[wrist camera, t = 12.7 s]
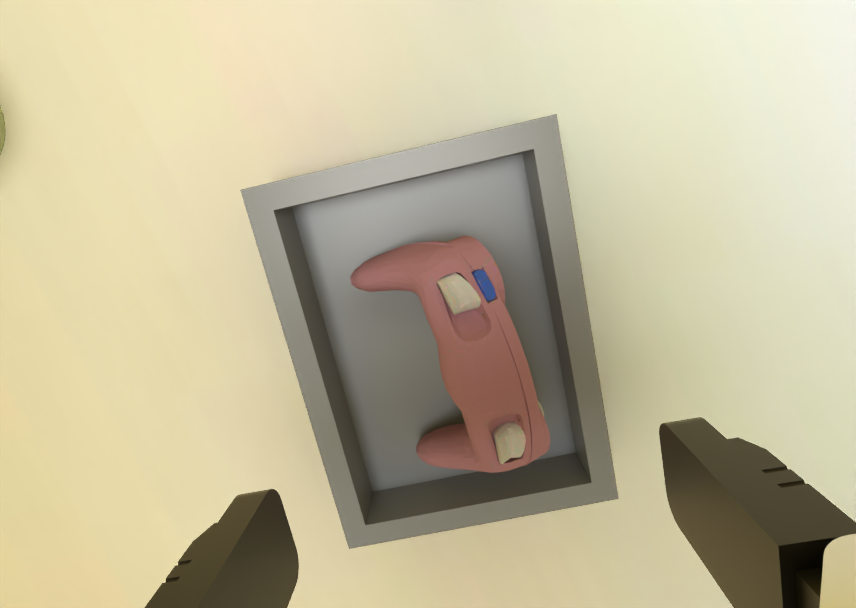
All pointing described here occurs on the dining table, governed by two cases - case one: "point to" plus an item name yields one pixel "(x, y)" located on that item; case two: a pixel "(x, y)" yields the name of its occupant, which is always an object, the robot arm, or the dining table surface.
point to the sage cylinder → (2, 130)
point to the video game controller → (468, 353)
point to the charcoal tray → (411, 333)
